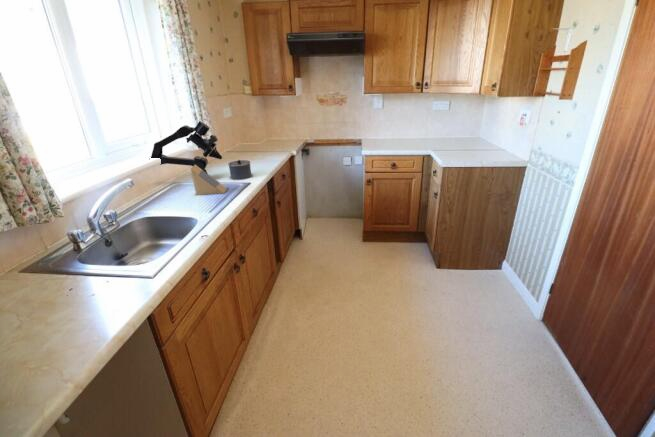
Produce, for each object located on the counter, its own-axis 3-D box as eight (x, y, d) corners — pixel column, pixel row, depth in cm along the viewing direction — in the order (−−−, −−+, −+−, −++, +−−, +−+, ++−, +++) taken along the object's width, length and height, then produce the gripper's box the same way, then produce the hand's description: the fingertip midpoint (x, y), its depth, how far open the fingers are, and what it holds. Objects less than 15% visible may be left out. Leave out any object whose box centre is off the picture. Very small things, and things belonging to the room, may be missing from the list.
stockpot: (226, 179, 202) (223, 162, 198) (237, 173, 214) (234, 157, 209) (245, 180, 198) (243, 162, 194) (255, 173, 210) (253, 157, 206)
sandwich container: (224, 193, 177) (219, 166, 171) (196, 195, 176) (190, 168, 170) (227, 188, 185) (223, 162, 179) (200, 190, 184) (195, 164, 178)
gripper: (204, 133, 184) (227, 151, 190) (210, 129, 201) (231, 145, 207) (193, 148, 186) (216, 165, 192) (199, 142, 203) (220, 158, 209)
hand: (221, 158), depth 200 cm, fingers closed
